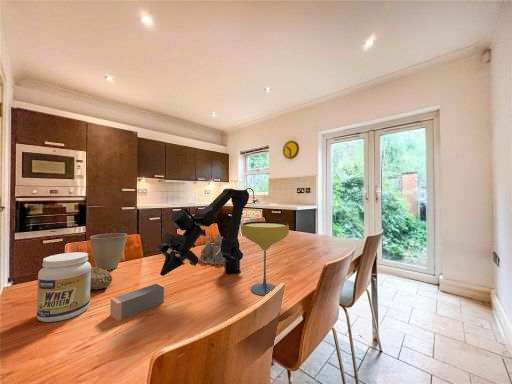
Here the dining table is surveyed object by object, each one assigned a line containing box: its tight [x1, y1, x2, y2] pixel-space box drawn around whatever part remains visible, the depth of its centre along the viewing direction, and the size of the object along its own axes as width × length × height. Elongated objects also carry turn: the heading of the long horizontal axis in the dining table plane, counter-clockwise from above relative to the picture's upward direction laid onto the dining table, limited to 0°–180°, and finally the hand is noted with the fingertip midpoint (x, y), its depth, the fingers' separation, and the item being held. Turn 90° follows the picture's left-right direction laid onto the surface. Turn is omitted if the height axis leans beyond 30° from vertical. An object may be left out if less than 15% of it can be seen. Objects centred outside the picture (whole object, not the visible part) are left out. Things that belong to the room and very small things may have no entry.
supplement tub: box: [36, 251, 92, 323], centre depth 67 cm, size 12×12×17 cm
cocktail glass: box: [241, 220, 290, 297], centre depth 84 cm, size 18×18×25 cm
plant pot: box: [89, 232, 128, 271], centre depth 106 cm, size 15×15×16 cm
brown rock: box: [90, 265, 113, 290], centre depth 86 cm, size 13×8×20 cm
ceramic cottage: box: [198, 232, 225, 266], centre depth 121 cm, size 16×16×15 cm
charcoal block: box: [109, 283, 165, 322], centre depth 69 cm, size 5×5×14 cm
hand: (161, 275), depth 75 cm, fingers closed
